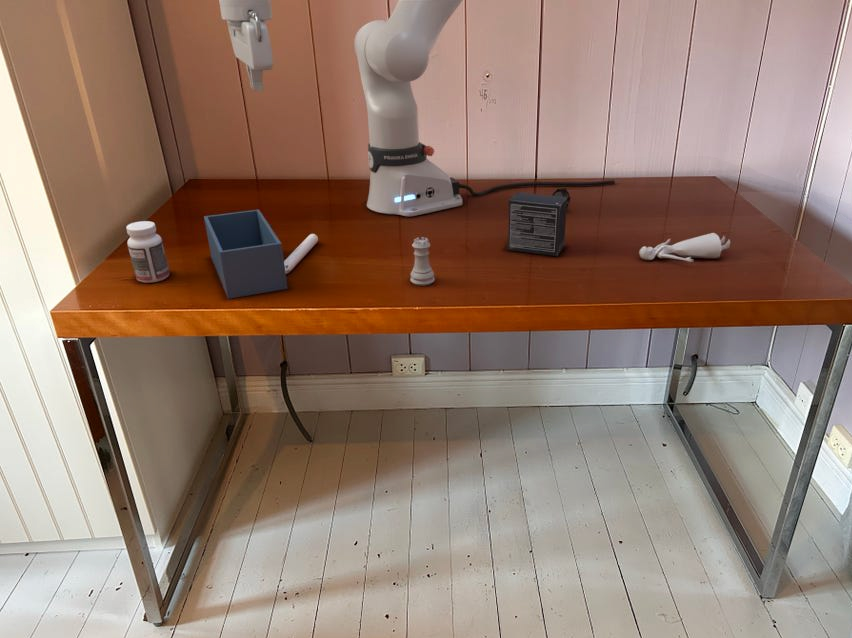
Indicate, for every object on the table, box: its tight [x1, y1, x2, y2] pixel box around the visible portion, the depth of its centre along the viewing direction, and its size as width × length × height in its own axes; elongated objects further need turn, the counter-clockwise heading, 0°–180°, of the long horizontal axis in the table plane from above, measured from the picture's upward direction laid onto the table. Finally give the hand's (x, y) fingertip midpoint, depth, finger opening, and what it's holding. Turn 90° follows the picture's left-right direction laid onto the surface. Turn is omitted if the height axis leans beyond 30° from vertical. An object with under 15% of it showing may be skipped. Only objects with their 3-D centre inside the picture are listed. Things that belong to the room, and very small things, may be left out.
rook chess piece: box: [409, 236, 435, 287], centre depth 129 cm, size 4×4×8 cm
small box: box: [506, 191, 568, 257], centre depth 143 cm, size 11×6×10 cm, turn 71°
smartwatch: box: [551, 187, 571, 208], centre depth 166 cm, size 4×5×5 cm
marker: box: [284, 233, 319, 275], centre depth 139 cm, size 18×2×2 cm, turn 173°
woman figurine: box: [638, 232, 731, 263], centre depth 141 cm, size 12×4×18 cm
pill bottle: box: [126, 220, 170, 284], centre depth 129 cm, size 6×6×10 cm
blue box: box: [203, 209, 288, 299], centre depth 132 cm, size 10×20×8 cm, turn 25°
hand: (257, 90), depth 136 cm, fingers closed
